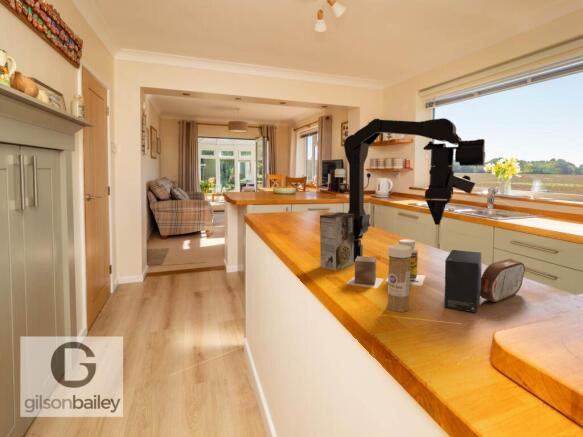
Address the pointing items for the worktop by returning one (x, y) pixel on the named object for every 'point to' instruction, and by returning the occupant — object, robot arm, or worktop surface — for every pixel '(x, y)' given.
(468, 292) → the small box
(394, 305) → the sprinkles bottle
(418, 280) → the label tile
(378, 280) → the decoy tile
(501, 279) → the tin
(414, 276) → the supplement bottle
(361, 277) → the walnut block
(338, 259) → the coffee box
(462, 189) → the robot arm
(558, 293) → the worktop surface
